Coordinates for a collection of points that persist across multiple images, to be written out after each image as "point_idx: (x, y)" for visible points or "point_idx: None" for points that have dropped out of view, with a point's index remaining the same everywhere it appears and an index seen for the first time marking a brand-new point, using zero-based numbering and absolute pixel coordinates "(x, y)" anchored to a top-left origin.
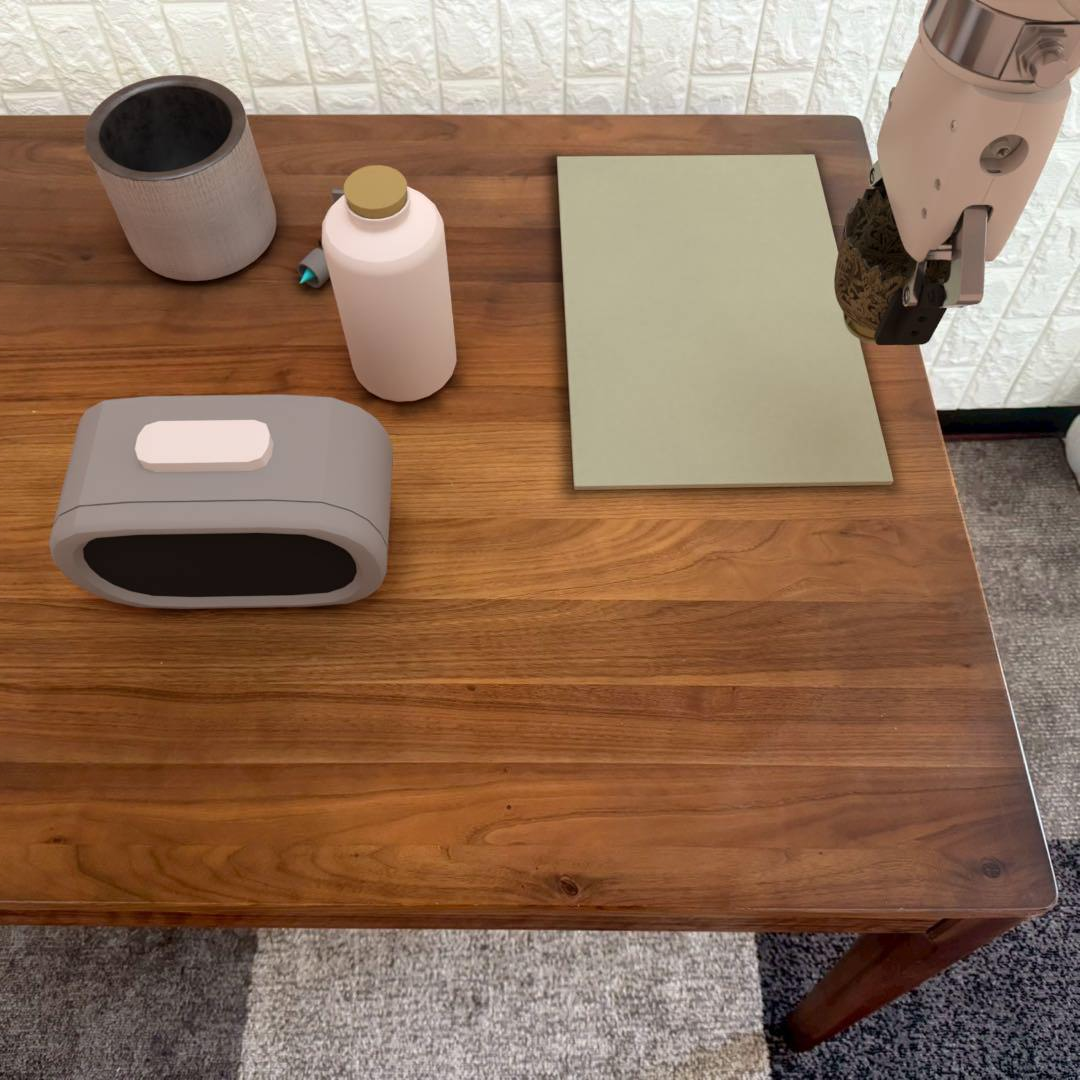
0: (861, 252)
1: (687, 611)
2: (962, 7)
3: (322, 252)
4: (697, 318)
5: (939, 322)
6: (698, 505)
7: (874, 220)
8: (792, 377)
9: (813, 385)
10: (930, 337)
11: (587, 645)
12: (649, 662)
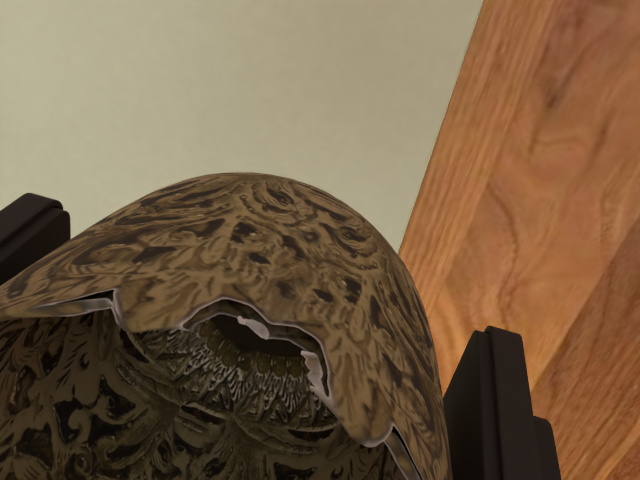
0: (105, 337)
1: (571, 357)
2: None
3: None
4: (81, 164)
5: (531, 407)
6: (417, 284)
7: (14, 406)
8: (219, 59)
9: (242, 27)
10: (523, 352)
11: (559, 460)
12: (616, 418)
